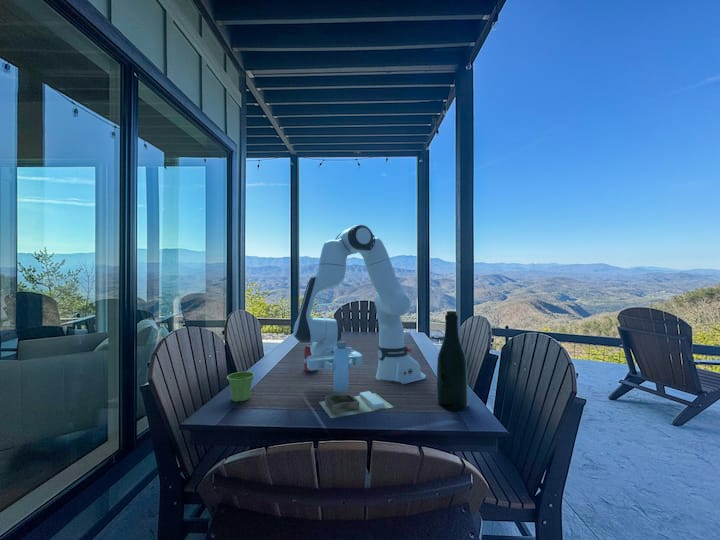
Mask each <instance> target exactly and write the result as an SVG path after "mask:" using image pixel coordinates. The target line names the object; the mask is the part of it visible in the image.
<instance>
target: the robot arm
mask: <svg viewBox="0 0 720 540" xmlns="http://www.w3.org/2000/svg"><path fill="white" fill-rule="evenodd" d="M320 253H321V254H320V258H319V262H318V263H319V264H318V269H317V272H315V275H313V276H310V278H309V280H308V282H307V284H306V288H305V292H304V294H303V298H302V302H301V305H300V308H299V312H298V315H297V318H296V321H295V322H294V326H293V336H294V338H295V339H296V340H297V341H298V342H299V343H301V344H303V343H304V344H305V343H311V344H312V345H311V348H310V351H311V355H310V356H308V357H307V359H304V358H303V363H304V362H305V363H307V368H308V369H309V370H317V371H318V370H319V371H320V370H326V371H334V370H335V364H334V347H337V342H338V341H341V339H342V327H341V325H340V323H339V321H338V319H336V318H331V317H315V316H314V317H313V316H311V312H312V310H313V306H314V302H315V299H316V296H317V295H318V294H319V293H320V292H322V291H327V290H329V289H333V288H336V287H338V286H340V285H341V283H342V282H344V280H345V276H346V269H347V258H348V256H352V255H355V254H360V255H361V257H362V258H363V261H364V265H365V268H366V270H367V274H368V277H369V279H370V282H371V284H372V285H373V287H374V289H375V290H376V293H377V294H376V295H375V297H374V306H375V309H376V316H377V317H376V318H377V323H378V336H379V337H378V340H379V341H378V345H377V348H378V349H377V356H378V357H377V358H378V359H377V360H378V364H377V370H376V375H375V379H376V380H377V381H380V380H383V381H390V382H398V383H400V384H403V385H405V384H409V383H413V382H417V381H422V380H425V379H427V376H426V374H425V373H423V372H422V370H421V366H420V363H419V362H418V361H417V360H416V359H414V358H413V357H412V356H410V355H409V354H408V353H412V347H409V346H405V329H404V326H403V323H402V318H401V317H402V316H405V315H406V314H408V312H410V310H411V306H412V305H411V299H410V297H409V296H408V295H407V294H406V292H405V290H404V288H403V287H402V285H401V283H400V281H399V280H398V278H397V276H396V272H395V271H394V268H393V265H392V260H391V258H390V257H389V253H388V251H387V248H386V247H385V245H384V243H383V240H381V238H379V237H376V236H375V235H374V234H373V231H371V229H370V228H369V227H368V226H366V225H365V224H356V225H353V226H350V227H348V228H346V229H345V230H343V231H342V232H341V233H339V234H338V235H337V236H336V238H335V239H329V240H327V241H325V242H324V243H323V246H322V249H321V252H320ZM347 347H348V348H349V369H352V368H353V367H358V366H359V367H360V366H362V365H363V364H364V355H363V354H362V353H361V352H359V351H357V350H354V349H353V348H352V347H351V346H347Z"/></svg>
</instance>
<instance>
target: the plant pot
mask: <svg viewBox="0 0 720 540" xmlns="http://www.w3.org/2000/svg"><path fill="white" fill-rule="evenodd" d="M254 376H255V373H254V372H252V371H239V372H238V371H237V372H234V373H230V374H229V375H227V376H226V379H227V381H228V383H229V389H230V396H231V401H233V402H237V403H238V402H245V401H248V400H250V397H251V396H250V395H251V390H252V383H253V379H254Z"/></svg>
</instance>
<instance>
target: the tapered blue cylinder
mask: <svg viewBox="0 0 720 540" xmlns="http://www.w3.org/2000/svg"><path fill="white" fill-rule="evenodd" d="M348 347H349V346H347V342H346V340H345V341H343V340H342V341H341V340H340V341H338V342H337V347H334V364H335V370H333V387H332V388H333V389H332V391H334V392H335V393H347V392H348V391H349V371H350V370H349V369H350V368H349V348H348Z"/></svg>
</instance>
